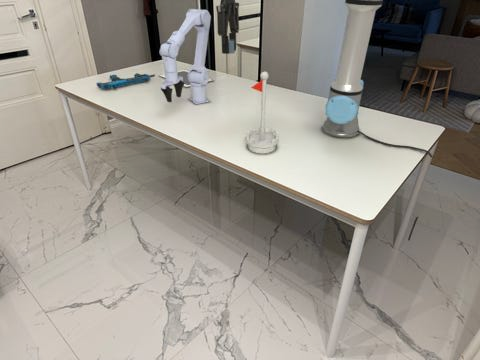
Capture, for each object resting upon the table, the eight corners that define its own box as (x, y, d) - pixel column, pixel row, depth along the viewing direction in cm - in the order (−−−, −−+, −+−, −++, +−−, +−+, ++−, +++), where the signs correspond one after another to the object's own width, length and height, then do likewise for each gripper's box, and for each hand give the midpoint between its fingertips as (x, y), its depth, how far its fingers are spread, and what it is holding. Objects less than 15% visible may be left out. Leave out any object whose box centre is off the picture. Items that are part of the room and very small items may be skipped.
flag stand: (269, 137, 144) (273, 65, 127) (283, 151, 134) (289, 74, 117) (240, 142, 140) (240, 68, 123) (253, 157, 130) (255, 78, 113)
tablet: (159, 75, 221) (159, 75, 220) (185, 70, 232) (185, 69, 231) (186, 87, 200) (186, 86, 200) (213, 80, 211) (213, 80, 211)
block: (234, 51, 138) (234, 38, 135) (234, 53, 134) (233, 40, 132) (224, 51, 138) (224, 39, 135) (223, 53, 135) (223, 41, 132)
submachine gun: (140, 68, 226) (159, 74, 209) (142, 73, 228) (160, 80, 211) (89, 77, 207) (104, 85, 190) (90, 84, 209) (106, 92, 192)
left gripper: (173, 66, 164) (176, 93, 172) (154, 73, 153) (158, 102, 161) (185, 68, 162) (187, 95, 169) (166, 75, 151) (170, 105, 158)
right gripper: (230, -17, 132) (232, 46, 144) (205, -14, 118) (209, 55, 131) (247, -17, 129) (247, 48, 141) (223, -13, 115) (226, 57, 128)
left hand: (174, 99), depth 165 cm, fingers open, 7 cm apart
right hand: (229, 51), depth 136 cm, fingers closed on block, 5 cm apart
